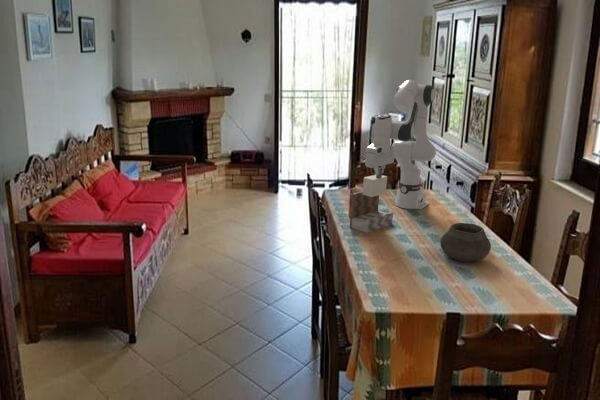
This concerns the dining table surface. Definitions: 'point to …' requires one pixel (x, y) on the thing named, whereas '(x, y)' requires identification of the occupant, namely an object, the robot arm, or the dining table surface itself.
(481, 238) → the clay pot
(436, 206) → the dining table surface
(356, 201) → the wood-topped platform
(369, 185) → the cabinet
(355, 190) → the candy box
